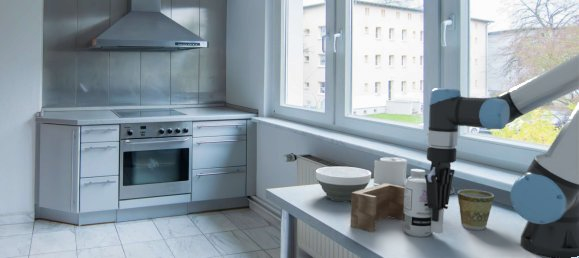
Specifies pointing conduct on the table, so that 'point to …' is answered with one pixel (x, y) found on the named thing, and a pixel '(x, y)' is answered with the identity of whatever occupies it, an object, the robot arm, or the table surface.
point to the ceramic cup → (474, 208)
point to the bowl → (342, 181)
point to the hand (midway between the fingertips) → (436, 231)
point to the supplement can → (416, 208)
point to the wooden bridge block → (376, 205)
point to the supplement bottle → (417, 173)
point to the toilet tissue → (390, 171)
